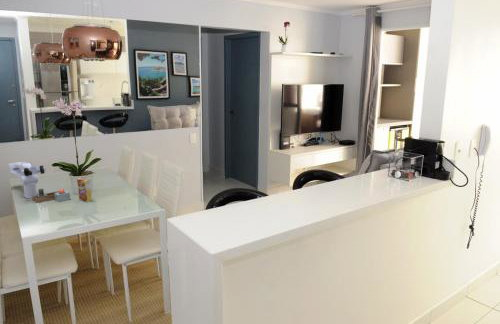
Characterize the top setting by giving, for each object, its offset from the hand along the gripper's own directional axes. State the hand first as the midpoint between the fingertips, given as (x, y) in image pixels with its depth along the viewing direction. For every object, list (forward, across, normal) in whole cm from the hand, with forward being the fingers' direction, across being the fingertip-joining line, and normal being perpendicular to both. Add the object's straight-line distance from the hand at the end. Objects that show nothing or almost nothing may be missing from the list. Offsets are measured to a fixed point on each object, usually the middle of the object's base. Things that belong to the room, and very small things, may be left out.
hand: (37, 172), depth 259 cm
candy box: (+14, +24, +22) cm, 35 cm away
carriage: (-6, +2, +20) cm, 21 cm away
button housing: (+3, +13, +21) cm, 25 cm away
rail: (-6, +7, +21) cm, 23 cm away
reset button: (+3, +13, +18) cm, 22 cm away
